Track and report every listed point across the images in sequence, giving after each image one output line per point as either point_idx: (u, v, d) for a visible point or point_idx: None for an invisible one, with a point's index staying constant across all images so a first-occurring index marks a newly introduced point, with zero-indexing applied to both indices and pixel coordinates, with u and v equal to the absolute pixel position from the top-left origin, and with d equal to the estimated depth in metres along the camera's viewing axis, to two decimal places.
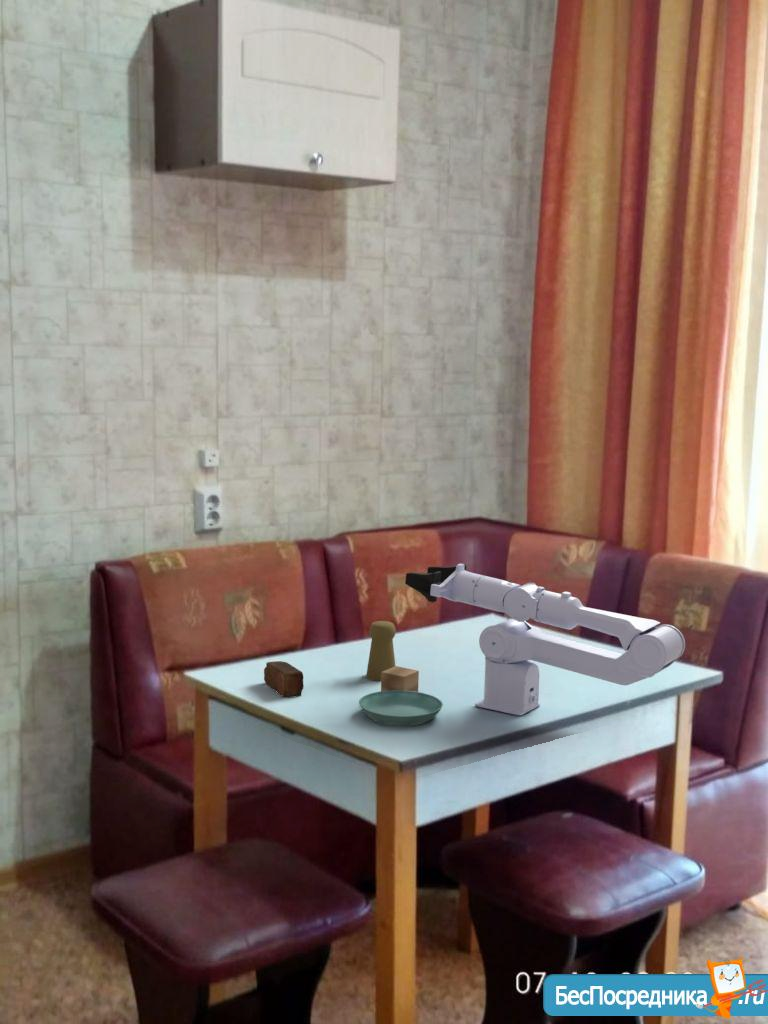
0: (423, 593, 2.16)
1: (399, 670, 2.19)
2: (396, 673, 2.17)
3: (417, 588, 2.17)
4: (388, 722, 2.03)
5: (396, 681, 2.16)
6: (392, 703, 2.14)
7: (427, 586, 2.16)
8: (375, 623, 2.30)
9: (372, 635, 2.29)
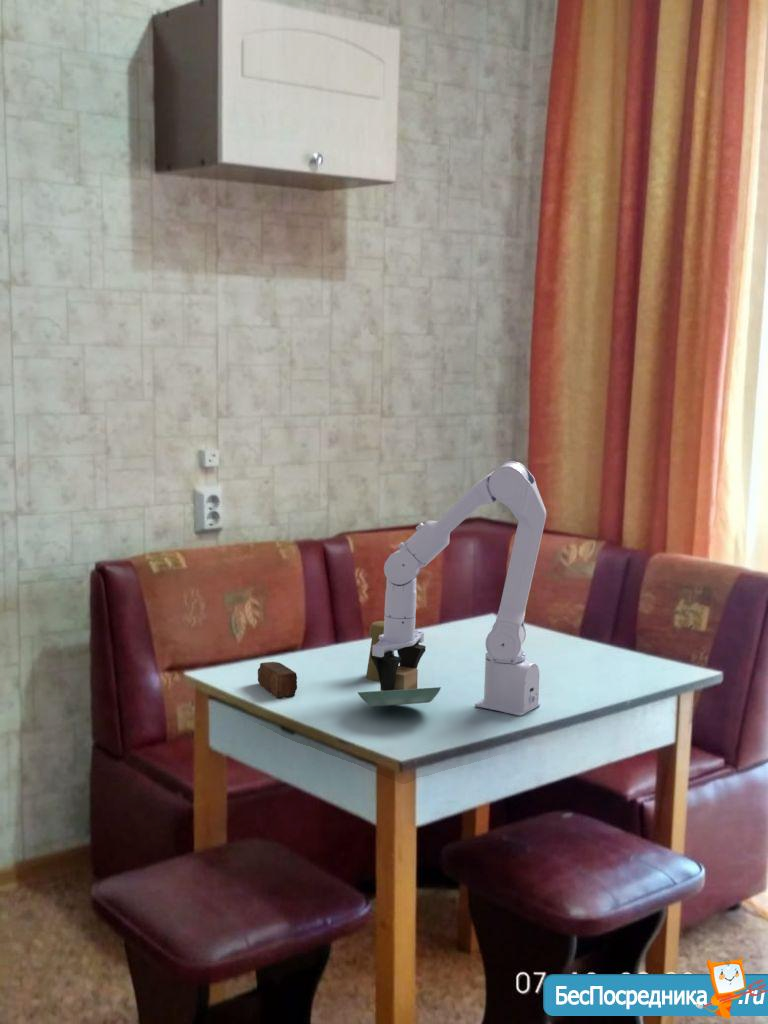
0: (390, 668, 2.13)
1: (398, 669, 2.19)
2: None
3: (390, 677, 2.15)
4: (387, 700, 2.03)
5: (396, 679, 2.17)
6: None
7: (388, 665, 2.15)
8: (375, 623, 2.30)
9: (372, 635, 2.29)
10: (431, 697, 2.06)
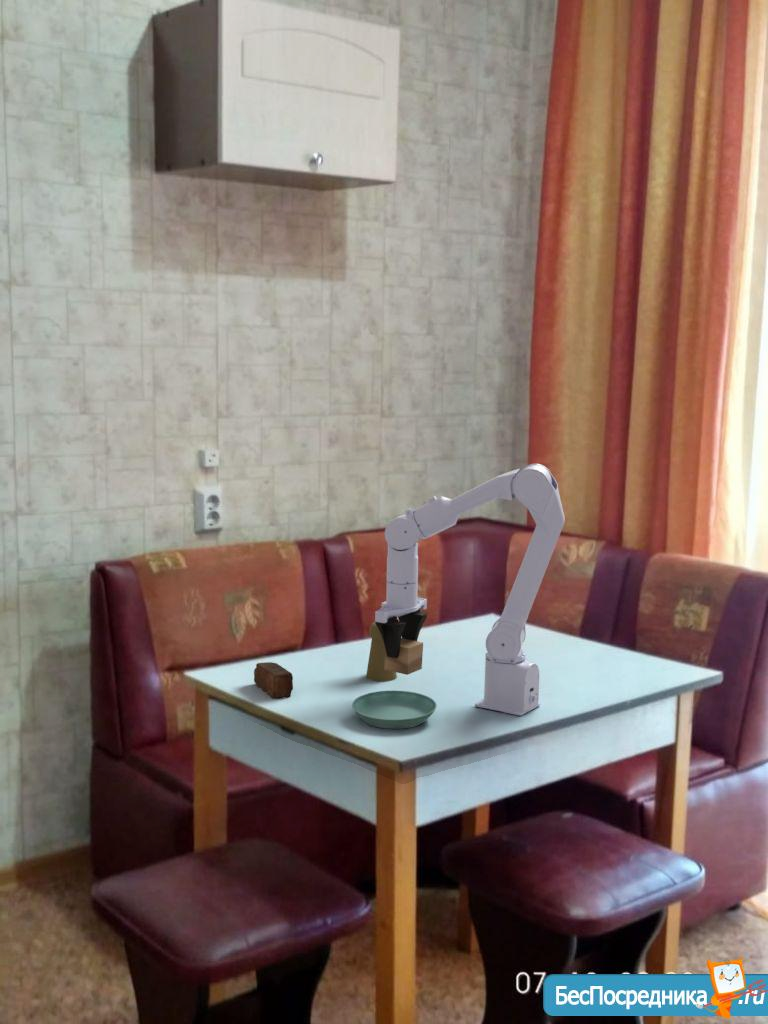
0: (395, 634, 2.13)
1: (403, 641, 2.18)
2: (400, 644, 2.16)
3: (395, 642, 2.14)
4: (377, 725, 2.01)
5: (400, 652, 2.15)
6: (391, 703, 2.12)
7: (393, 631, 2.14)
8: None
9: (372, 635, 2.29)
10: (423, 721, 2.03)
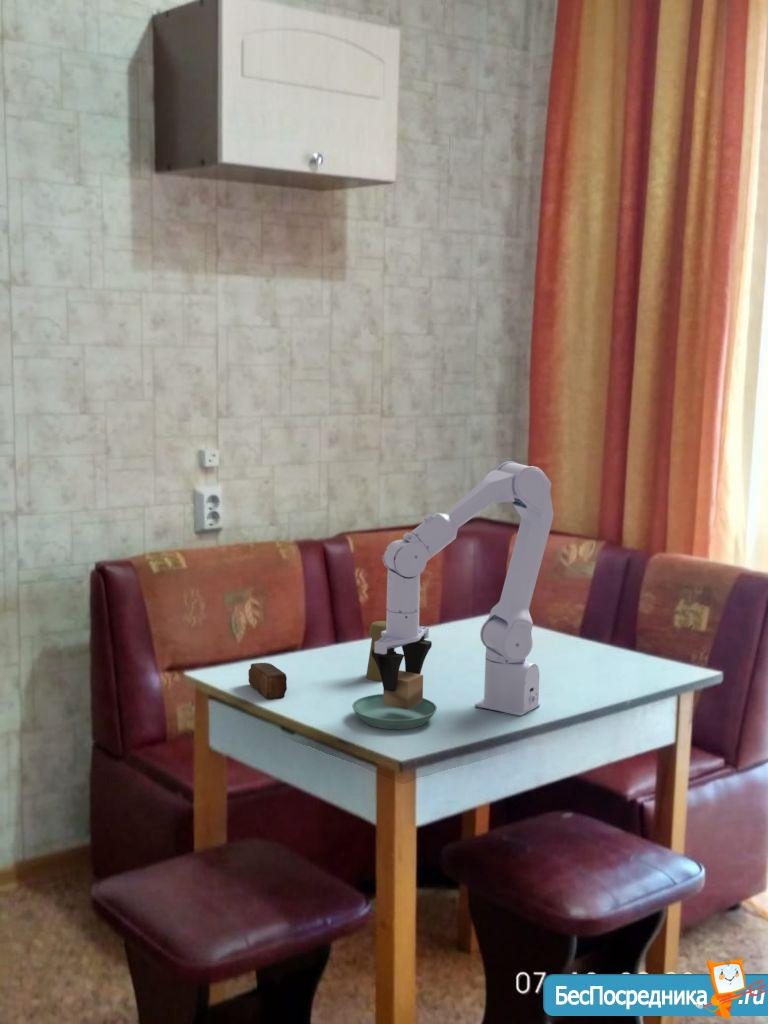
0: (393, 667, 2.02)
1: (402, 674, 2.07)
2: (399, 678, 2.05)
3: (393, 675, 2.03)
4: (375, 725, 2.01)
5: (399, 686, 2.05)
6: None
7: (390, 663, 2.03)
8: (375, 623, 2.30)
9: (372, 635, 2.29)
10: (422, 723, 2.03)
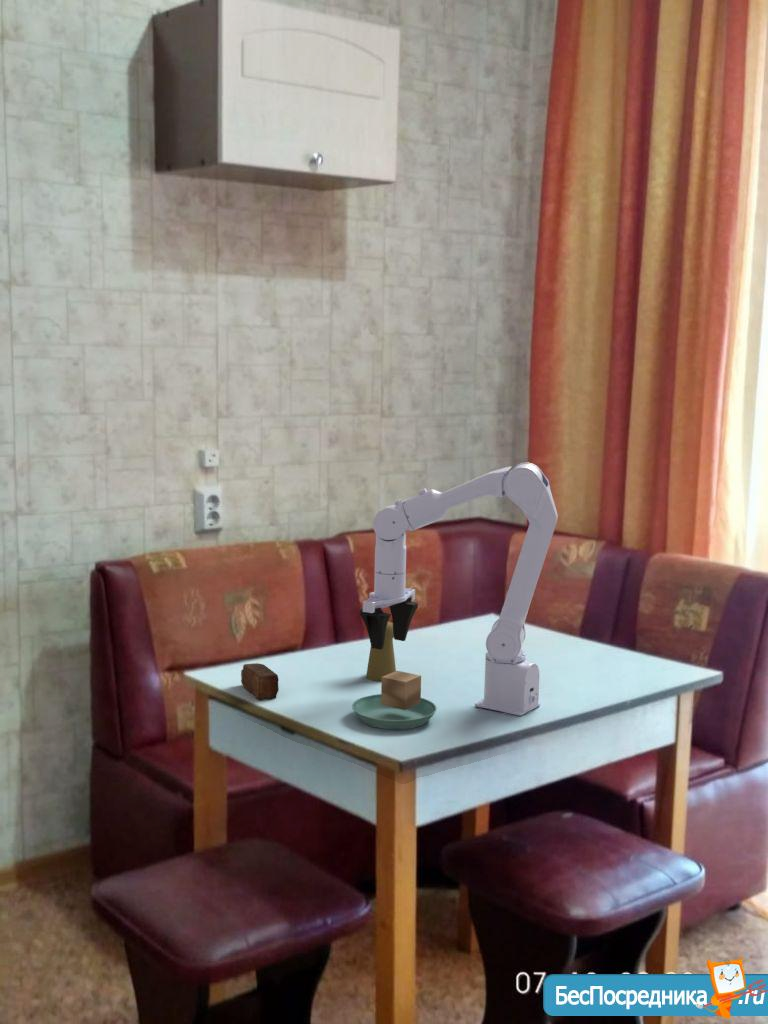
0: (380, 625, 2.12)
1: (400, 675, 2.07)
2: (397, 678, 2.05)
3: (380, 634, 2.13)
4: (374, 725, 2.01)
5: (397, 686, 2.04)
6: None
7: (377, 622, 2.13)
8: None
9: None
10: (422, 723, 2.02)
